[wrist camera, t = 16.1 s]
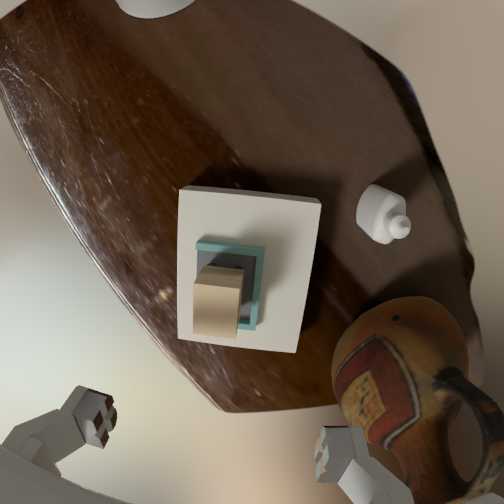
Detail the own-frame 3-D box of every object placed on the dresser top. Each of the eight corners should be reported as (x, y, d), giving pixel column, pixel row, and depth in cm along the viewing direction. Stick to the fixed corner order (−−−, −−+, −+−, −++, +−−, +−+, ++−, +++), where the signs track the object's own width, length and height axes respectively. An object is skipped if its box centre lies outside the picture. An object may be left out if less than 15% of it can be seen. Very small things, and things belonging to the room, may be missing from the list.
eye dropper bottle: (343, 207, 39) (370, 233, 27) (375, 178, 37) (414, 193, 26) (364, 232, 39) (396, 266, 28) (395, 204, 38) (437, 228, 27)
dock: (188, 185, 39) (176, 191, 34) (316, 198, 38) (323, 206, 33) (185, 323, 45) (175, 343, 41) (294, 336, 45) (295, 358, 40)
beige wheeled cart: (206, 260, 37) (193, 283, 31) (245, 264, 37) (239, 288, 31) (204, 304, 39) (192, 333, 33) (241, 309, 39) (235, 339, 33)
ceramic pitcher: (307, 378, 47) (320, 554, 19) (361, 266, 41) (464, 448, 13) (404, 395, 48) (455, 534, 20) (463, 300, 42) (573, 429, 13)
